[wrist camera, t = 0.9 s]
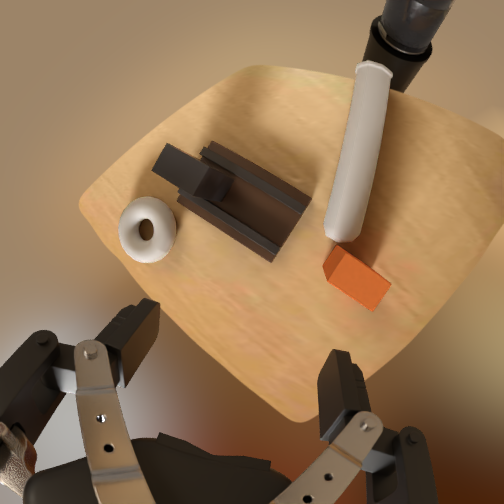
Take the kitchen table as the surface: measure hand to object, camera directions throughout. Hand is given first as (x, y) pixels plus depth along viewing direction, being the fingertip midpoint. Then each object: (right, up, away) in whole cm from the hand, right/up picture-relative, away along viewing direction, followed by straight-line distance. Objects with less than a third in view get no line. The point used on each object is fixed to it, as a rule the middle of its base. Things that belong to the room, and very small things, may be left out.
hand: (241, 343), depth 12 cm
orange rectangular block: (+13, +2, +25) cm, 28 cm away
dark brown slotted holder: (-1, +11, +27) cm, 29 cm away
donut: (-15, +8, +30) cm, 34 cm away
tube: (+15, +17, +23) cm, 32 cm away
